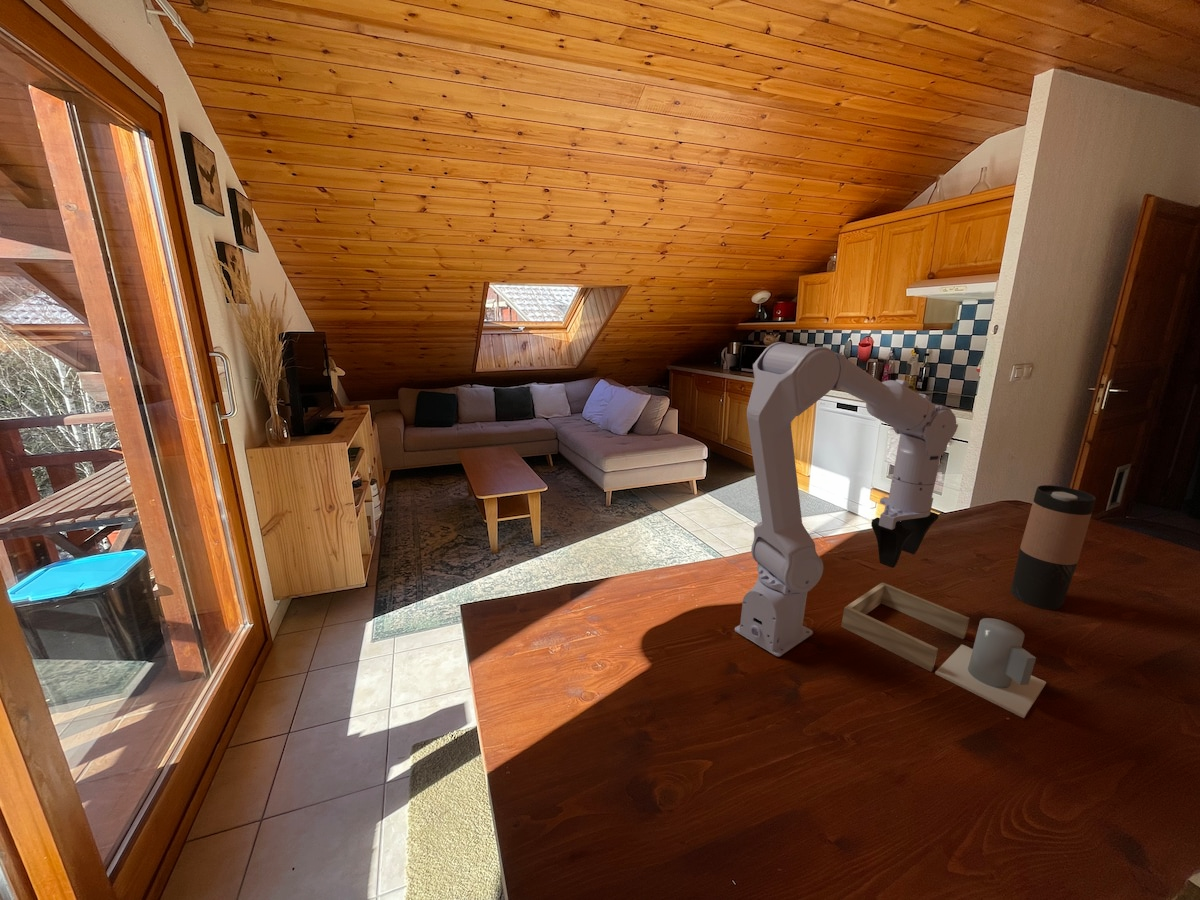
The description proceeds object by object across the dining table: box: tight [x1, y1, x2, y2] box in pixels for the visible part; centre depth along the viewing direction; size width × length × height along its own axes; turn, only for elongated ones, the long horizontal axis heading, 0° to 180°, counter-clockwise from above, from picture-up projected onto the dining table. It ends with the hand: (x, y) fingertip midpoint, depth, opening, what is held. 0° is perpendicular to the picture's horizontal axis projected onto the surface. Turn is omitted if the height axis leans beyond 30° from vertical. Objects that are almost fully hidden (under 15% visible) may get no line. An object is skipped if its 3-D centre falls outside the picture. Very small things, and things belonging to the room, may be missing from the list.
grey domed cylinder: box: [968, 617, 1037, 688], centre depth 69 cm, size 7×5×8 cm
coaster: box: [934, 644, 1047, 719], centre depth 71 cm, size 10×10×1 cm
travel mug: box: [1010, 484, 1097, 611], centre depth 88 cm, size 8×8×20 cm
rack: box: [841, 582, 970, 672], centre depth 80 cm, size 13×13×4 cm
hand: (897, 558), depth 83 cm, fingers open, 7 cm apart
